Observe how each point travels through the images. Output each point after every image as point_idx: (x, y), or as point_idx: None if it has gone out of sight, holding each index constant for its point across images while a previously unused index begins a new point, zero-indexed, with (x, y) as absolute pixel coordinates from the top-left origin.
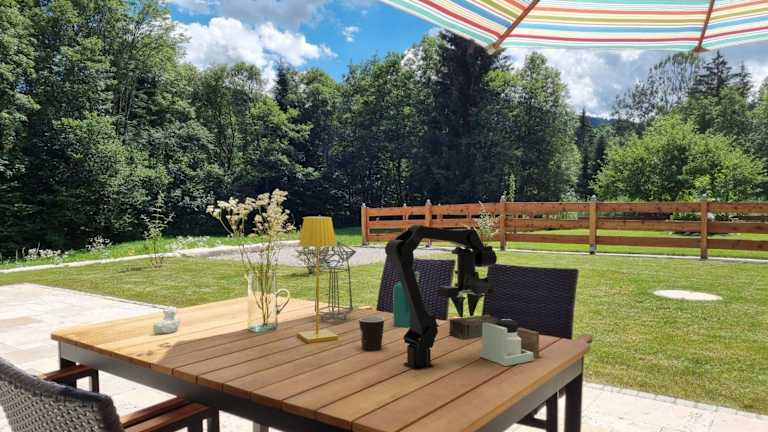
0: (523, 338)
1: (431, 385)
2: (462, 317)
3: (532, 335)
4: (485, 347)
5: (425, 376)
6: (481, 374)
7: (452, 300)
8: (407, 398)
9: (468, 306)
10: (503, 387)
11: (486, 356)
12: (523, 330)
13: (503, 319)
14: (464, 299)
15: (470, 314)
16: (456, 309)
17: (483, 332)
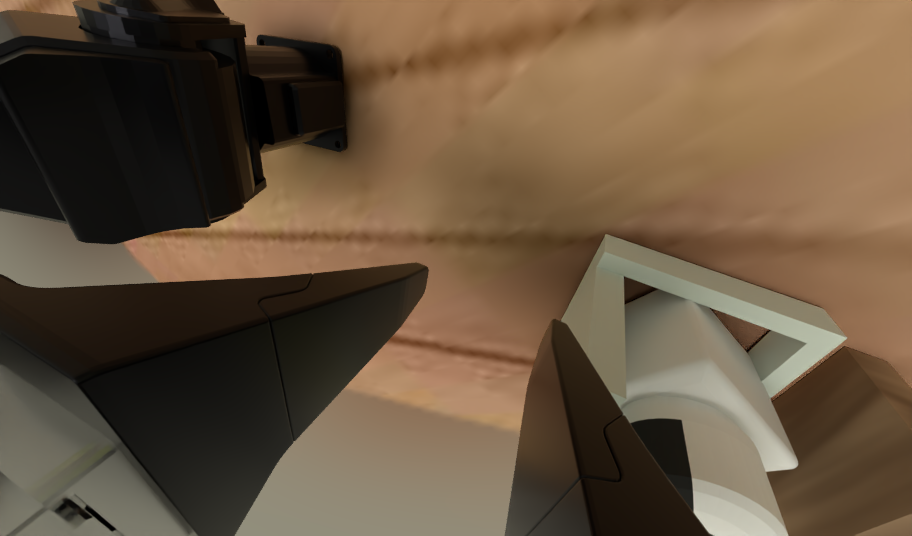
0: (843, 465)
1: (268, 248)
2: (423, 291)
3: (798, 533)
4: (585, 295)
5: (282, 195)
6: (420, 314)
7: (183, 299)
8: (203, 248)
9: (554, 378)
10: (392, 378)
11: (585, 277)
12: (877, 524)
13: (728, 527)
14: (247, 504)
15: (546, 336)
16: (345, 275)
17: (586, 336)
